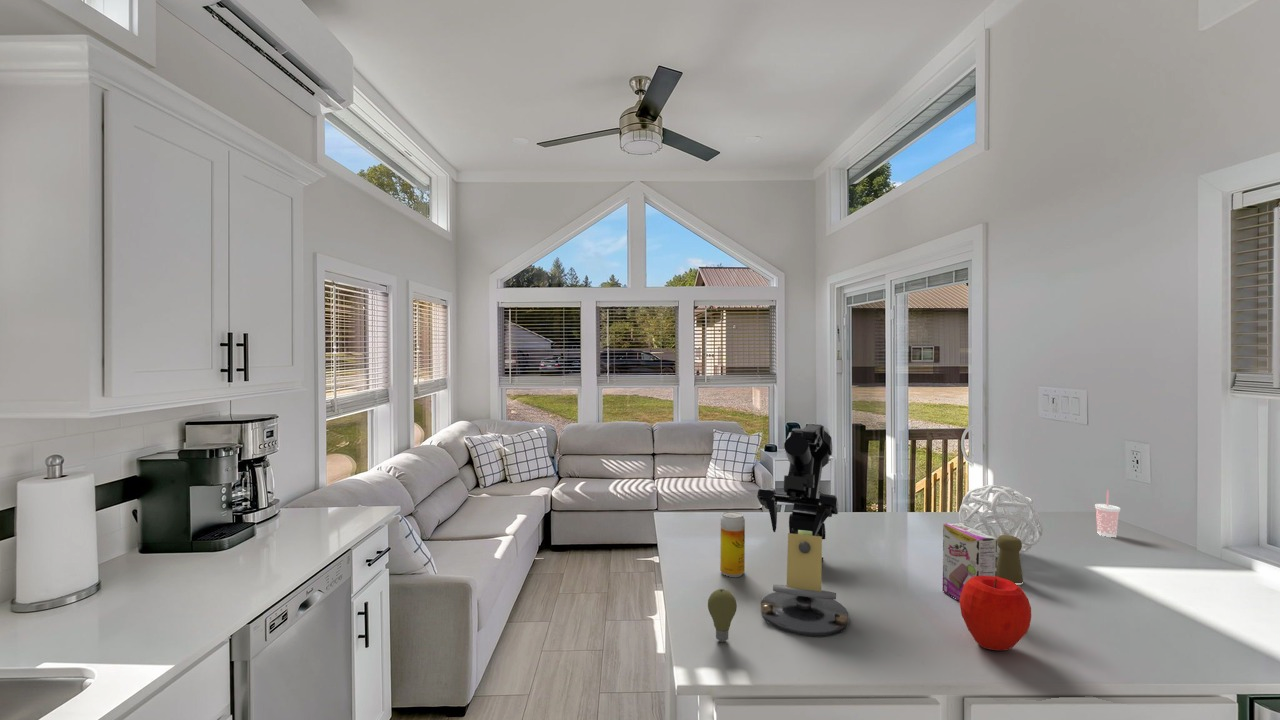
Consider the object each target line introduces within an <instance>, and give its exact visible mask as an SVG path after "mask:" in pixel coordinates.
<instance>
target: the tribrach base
mask: <svg viewBox="0 0 1280 720" xmlns="http://www.w3.org/2000/svg"><path fill="white" fill-rule="evenodd" d="M760 614H761V616H762V618H763V619H764V620H765V621H766V622H767V623H768V624H769V625H771V626H773V627H774V628H776V629H778V630H780V631H783V632H786V633H789V634H794V635H795V636H798V635H799V636H802V637H813V638H822V637H823V638H824V637H831V636H835V635H836V636H837V635H839V634H840V633H843V632H844V631H846V630H847V628H848V627H849V620H850V619H849V617H850V616H849V615H850V614H849V611H848V610H847V609H846V607H845V606H844V605H843V604H841V603H840V602H839V601H838V600H836V599H821V598H812V597H804V596H797V595H790V594H784V593H779V592H775V591H773V592H770V593H768V594H767V595H765V596H764V597H762V599H761V601H760Z"/></svg>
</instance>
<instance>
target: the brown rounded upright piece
mask: <svg viewBox="0 0 1280 720" xmlns="http://www.w3.org/2000/svg"><path fill="white" fill-rule="evenodd" d="M997 545H998V547H999V548H1000V549H999V553H998V554H997V555H998V558H997V559H996V577H1000V578H1004V579H1007V580H1010V581H1012V582H1013V583H1022V582H1023V583H1024V578H1023V577H1024V576H1023V572H1022V563H1021V554H1019V551H1020V550H1021V548H1022V542H1021V540H1020V539H1019V537H1018V538H1017V537H1014V535H1012V536H1010V535H1001V536H999V537H998V539H997Z"/></svg>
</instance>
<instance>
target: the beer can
mask: <svg viewBox="0 0 1280 720" xmlns="http://www.w3.org/2000/svg"><path fill="white" fill-rule="evenodd" d="M745 523H746V519H745V517H744V514H743V513H741V512H738V511H725V512H722V513H721V517H720V533H719V534H720V537H719V538H720V546H719V547H720V549H719V551H720V553H719V554H720V555H719V557H720V558H719V559H720V562H719V564H720V565H719V566H720V567H719V569H720V572H721V573H722V575H723V576H725V575H726V576H725V577H728V576H729V577H730V578H738V577H739V578H740V577H741V576H743V574H744V573H745V569H746V568H745V566H746V565H745V563H746V562H745V559H746V558H745V557H746V556H745V555H746V554H745V553H746V550H745V546H746V545H745V542H746V541H745V539H746V534H745V532H746V531H745V529H746V524H745ZM729 577H728V578H729Z"/></svg>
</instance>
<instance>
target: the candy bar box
mask: <svg viewBox="0 0 1280 720" xmlns="http://www.w3.org/2000/svg"><path fill="white" fill-rule="evenodd" d="M942 531H943V532H942V533H943V535H942V541H943V542H942V544H943V545H942V554H943V555H942V592H943V591H944V592H945V594H946V593H947V594H946V595H948V594H949V595H950V596H949V595H948V596H949V597H951V596H952V597H951V598H953V597H954V598H956V599H957V600H959V601H960V595H961V592H962V589H963V586H964V584H965V583H966V582H967V581H968V580H969V579H970V578H971V577H975V576H994V577H996V566H997V558H996V557H997V556H996V555H998V554H997V539H996V538H995V537H992V536H990V535H987V534H985V533H983V532H980V531H978V530H976V529H974V527H971V526H969V525H964V524H962V523H960V522H950V523H948V522H946V523H943V530H942ZM944 592H943V593H944ZM954 598H953V599H954ZM956 599H955V600H956ZM957 600H956V601H957ZM959 601H958V602H959Z"/></svg>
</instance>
